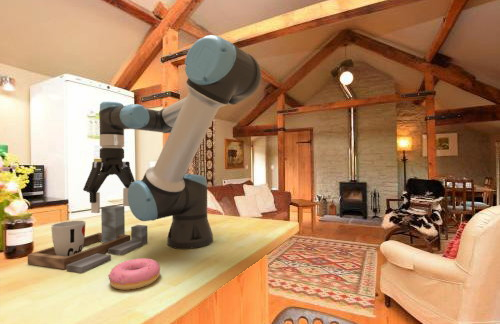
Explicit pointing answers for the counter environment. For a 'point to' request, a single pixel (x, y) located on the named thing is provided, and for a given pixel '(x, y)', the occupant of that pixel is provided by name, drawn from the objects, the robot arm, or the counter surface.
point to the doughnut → (134, 274)
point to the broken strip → (112, 251)
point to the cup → (68, 237)
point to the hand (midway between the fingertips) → (112, 209)
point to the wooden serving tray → (88, 241)
